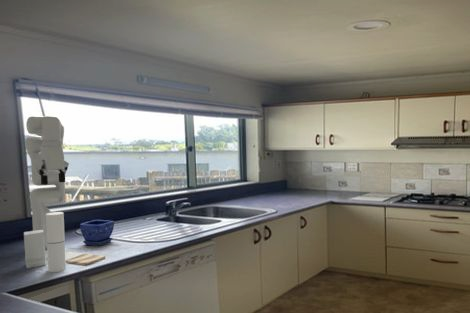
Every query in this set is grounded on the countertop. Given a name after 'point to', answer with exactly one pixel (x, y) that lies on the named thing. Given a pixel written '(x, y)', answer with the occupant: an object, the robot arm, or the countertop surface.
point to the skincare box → (34, 248)
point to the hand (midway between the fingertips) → (53, 183)
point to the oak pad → (86, 259)
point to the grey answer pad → (71, 255)
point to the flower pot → (97, 232)
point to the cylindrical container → (55, 241)
